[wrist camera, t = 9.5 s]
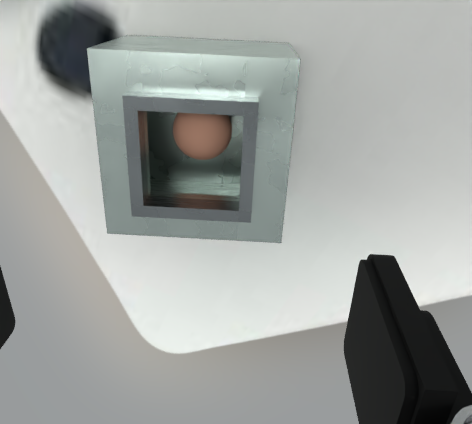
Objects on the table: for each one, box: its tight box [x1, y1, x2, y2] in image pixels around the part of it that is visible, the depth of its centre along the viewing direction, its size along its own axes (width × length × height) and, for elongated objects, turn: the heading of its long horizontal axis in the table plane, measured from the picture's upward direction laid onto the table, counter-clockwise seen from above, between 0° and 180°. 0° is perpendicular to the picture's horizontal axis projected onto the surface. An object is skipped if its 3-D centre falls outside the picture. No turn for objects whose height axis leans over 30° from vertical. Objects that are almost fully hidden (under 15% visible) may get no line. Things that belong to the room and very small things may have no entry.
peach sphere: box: [173, 113, 232, 160], centre depth 32 cm, size 4×4×4 cm
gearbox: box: [87, 35, 301, 243], centre depth 30 cm, size 12×14×10 cm
